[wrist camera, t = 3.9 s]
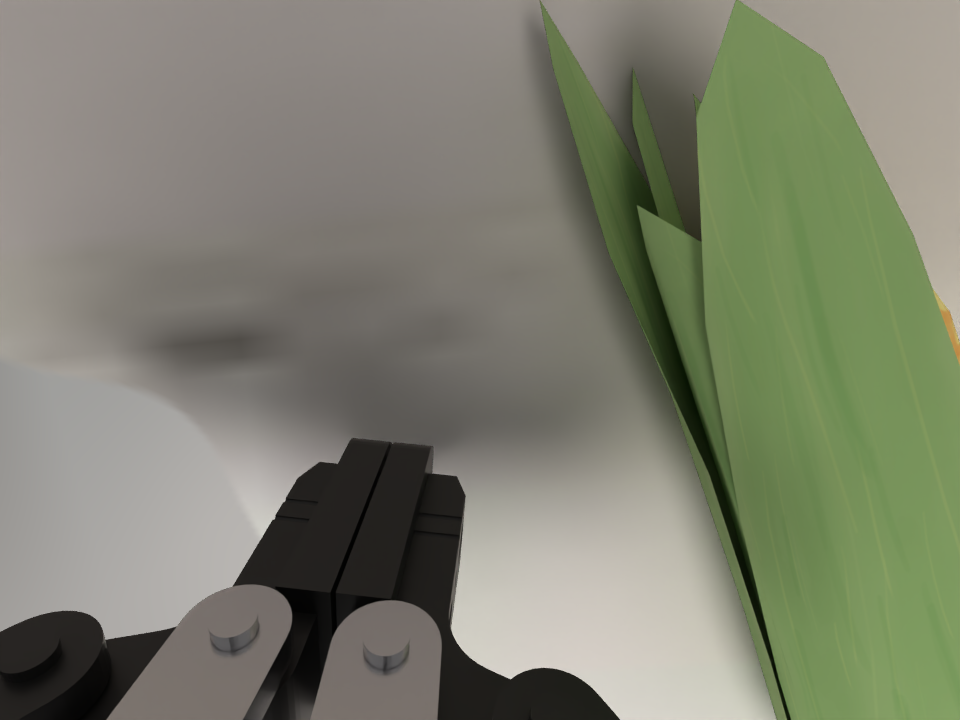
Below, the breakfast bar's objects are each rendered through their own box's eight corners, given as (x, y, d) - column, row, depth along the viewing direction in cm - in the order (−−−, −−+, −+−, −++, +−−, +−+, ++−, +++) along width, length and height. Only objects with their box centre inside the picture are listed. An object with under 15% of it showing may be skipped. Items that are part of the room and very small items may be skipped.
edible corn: (848, 981, 12) (1148, 1059, 10) (435, 9, 6) (1030, -389, 3) (811, 737, 16) (1015, 752, 14) (551, 21, 10) (851, -154, 8)
